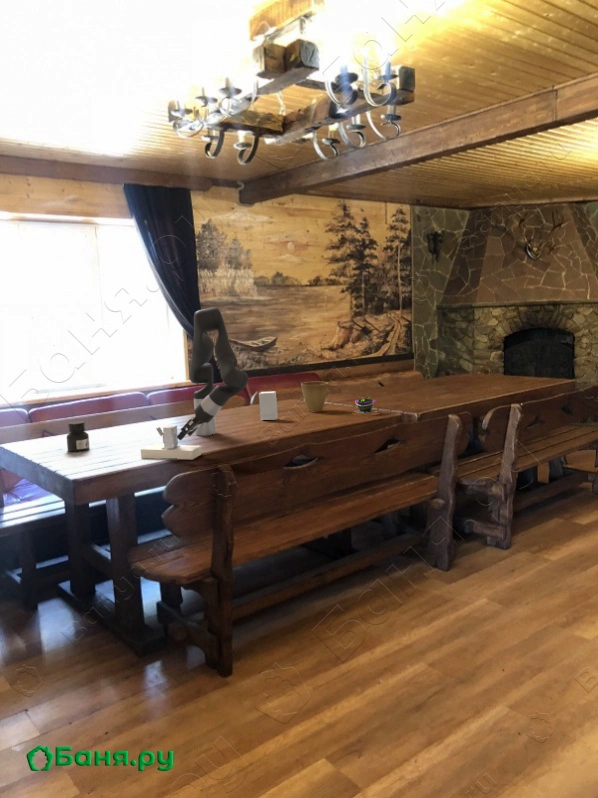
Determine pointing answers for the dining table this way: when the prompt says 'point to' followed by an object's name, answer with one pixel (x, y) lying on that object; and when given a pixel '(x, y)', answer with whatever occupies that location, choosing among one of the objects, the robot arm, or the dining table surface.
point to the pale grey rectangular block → (170, 437)
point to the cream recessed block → (171, 452)
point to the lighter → (160, 432)
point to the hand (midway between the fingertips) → (183, 436)
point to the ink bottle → (77, 437)
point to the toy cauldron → (365, 405)
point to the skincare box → (268, 405)
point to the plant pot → (314, 395)
